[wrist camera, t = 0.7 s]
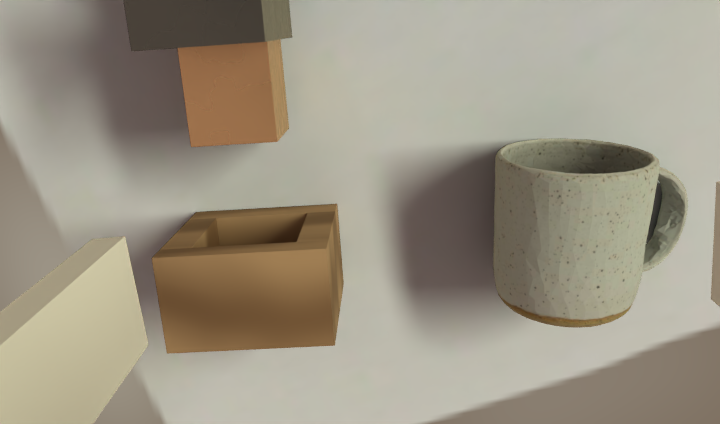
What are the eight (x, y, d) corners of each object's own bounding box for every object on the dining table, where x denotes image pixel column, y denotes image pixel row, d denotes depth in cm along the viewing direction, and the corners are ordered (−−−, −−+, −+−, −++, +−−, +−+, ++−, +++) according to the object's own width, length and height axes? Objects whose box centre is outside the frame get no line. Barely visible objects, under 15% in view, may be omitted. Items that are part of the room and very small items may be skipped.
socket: (196, 212, 38) (151, 258, 31) (337, 203, 38) (326, 248, 30) (207, 290, 39) (167, 353, 32) (343, 283, 39) (334, 345, 31)
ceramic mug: (481, 280, 39) (508, 342, 31) (483, 139, 36) (513, 169, 29) (667, 274, 38) (739, 335, 31) (681, 132, 36) (762, 161, 29)
